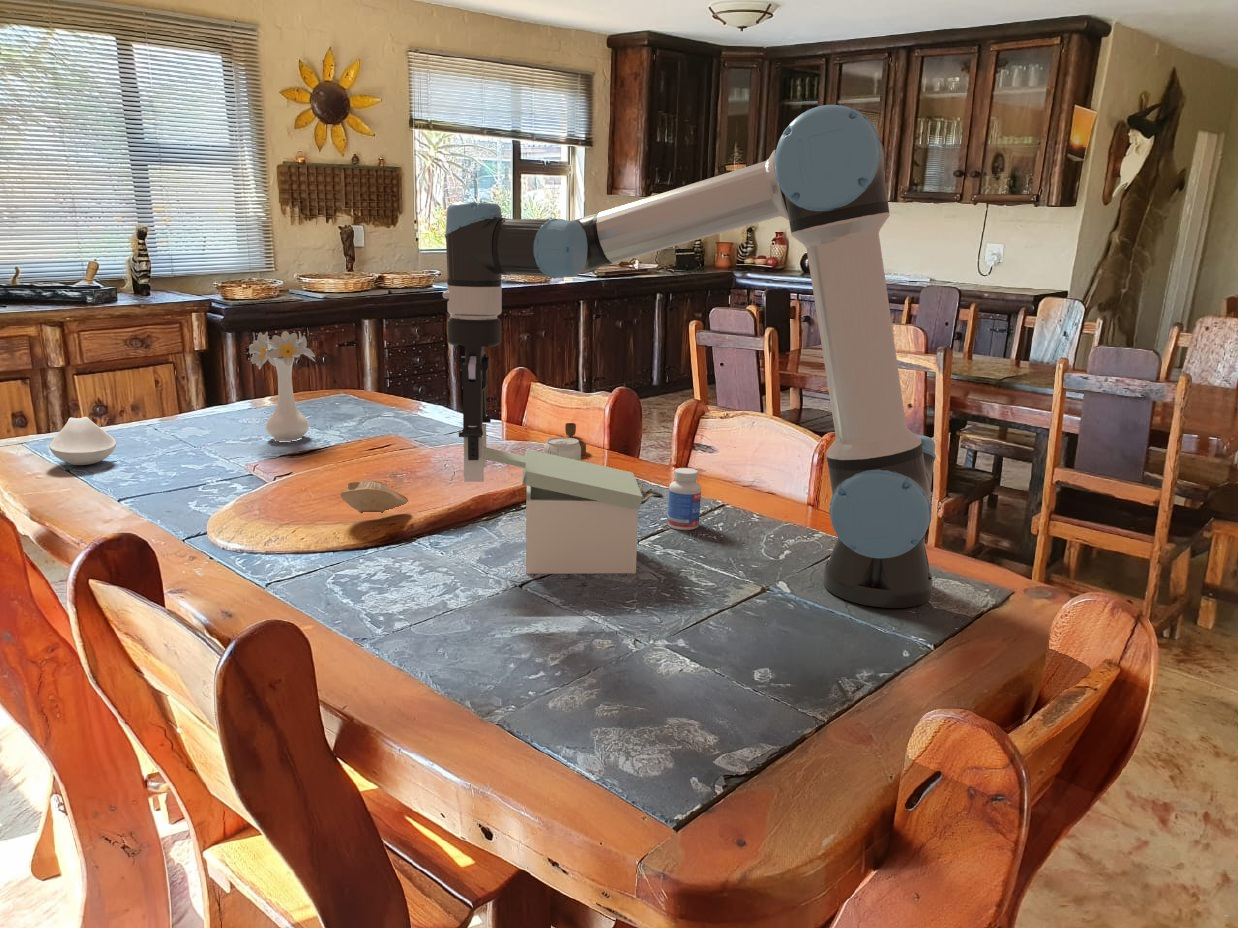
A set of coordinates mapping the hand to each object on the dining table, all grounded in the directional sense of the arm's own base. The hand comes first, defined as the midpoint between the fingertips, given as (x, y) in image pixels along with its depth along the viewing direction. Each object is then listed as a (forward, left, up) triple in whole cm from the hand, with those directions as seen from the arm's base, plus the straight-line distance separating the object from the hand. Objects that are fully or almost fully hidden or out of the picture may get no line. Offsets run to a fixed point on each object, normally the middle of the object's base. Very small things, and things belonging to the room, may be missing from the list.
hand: (475, 473), depth 135 cm
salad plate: (+24, -36, -14) cm, 45 cm away
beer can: (+10, -18, -14) cm, 24 cm away
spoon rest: (+89, +58, -14) cm, 107 cm away
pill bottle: (+4, -38, -14) cm, 40 cm away
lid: (-8, -22, -2) cm, 24 cm away
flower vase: (+90, +18, -14) cm, 93 cm away
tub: (-5, -15, -13) cm, 20 cm away
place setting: (+54, -39, -14) cm, 68 cm away
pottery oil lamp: (+26, +9, -14) cm, 31 cm away
